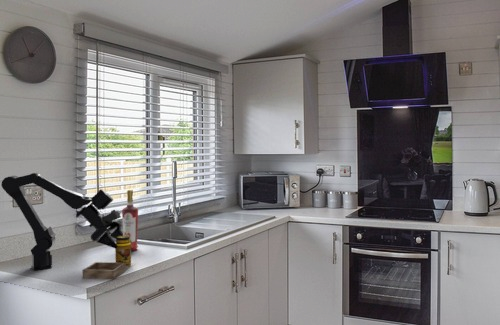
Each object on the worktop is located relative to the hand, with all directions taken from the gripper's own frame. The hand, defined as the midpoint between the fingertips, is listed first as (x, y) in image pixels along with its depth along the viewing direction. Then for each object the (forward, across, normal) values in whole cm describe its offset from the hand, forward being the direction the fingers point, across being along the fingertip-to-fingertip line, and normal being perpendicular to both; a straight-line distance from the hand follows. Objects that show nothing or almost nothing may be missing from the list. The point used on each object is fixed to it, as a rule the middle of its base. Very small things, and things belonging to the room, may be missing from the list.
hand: (121, 245), depth 182 cm
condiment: (+6, 0, +6) cm, 9 cm away
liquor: (+2, +26, +11) cm, 28 cm away
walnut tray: (+5, -12, +7) cm, 15 cm away
